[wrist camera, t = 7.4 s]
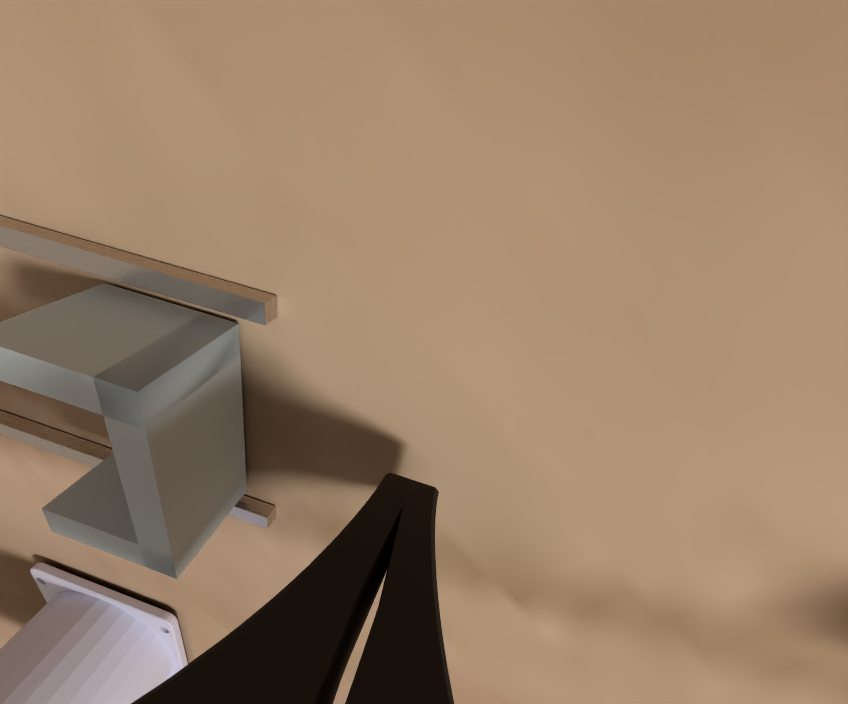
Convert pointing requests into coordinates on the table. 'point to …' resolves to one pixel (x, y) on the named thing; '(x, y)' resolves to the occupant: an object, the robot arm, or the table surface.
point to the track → (146, 277)
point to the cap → (139, 418)
